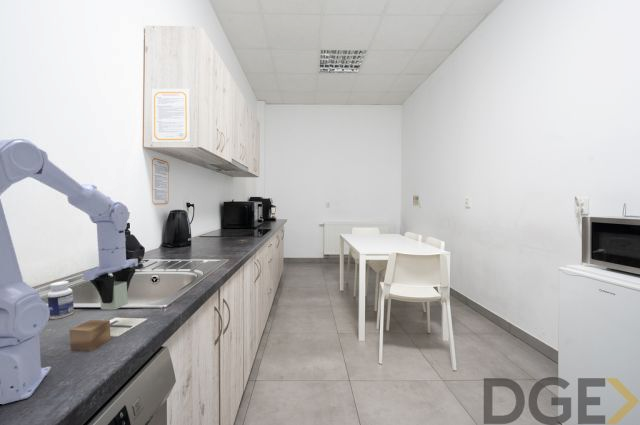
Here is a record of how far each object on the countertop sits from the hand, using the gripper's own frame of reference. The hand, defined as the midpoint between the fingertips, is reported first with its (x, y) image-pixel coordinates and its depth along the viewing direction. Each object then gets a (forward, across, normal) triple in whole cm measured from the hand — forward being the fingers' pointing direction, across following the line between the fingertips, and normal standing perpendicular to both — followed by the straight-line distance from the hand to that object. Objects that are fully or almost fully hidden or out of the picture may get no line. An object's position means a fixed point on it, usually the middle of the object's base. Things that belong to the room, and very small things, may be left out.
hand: (115, 299), depth 73 cm
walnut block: (+8, -9, -2) cm, 12 cm away
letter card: (+8, 0, 0) cm, 8 cm away
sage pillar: (+2, 0, 0) cm, 2 cm away
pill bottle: (+8, +6, +23) cm, 25 cm away
